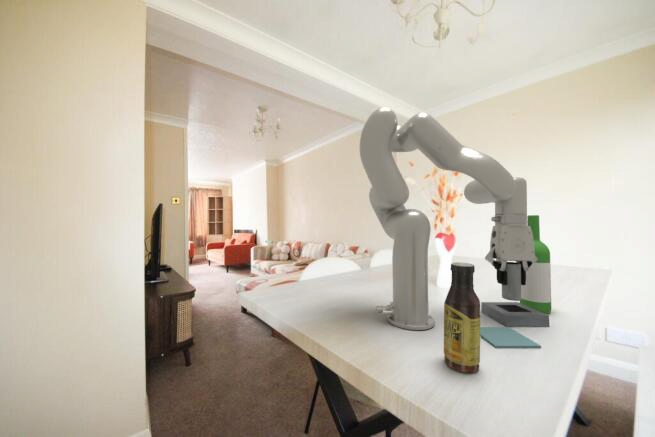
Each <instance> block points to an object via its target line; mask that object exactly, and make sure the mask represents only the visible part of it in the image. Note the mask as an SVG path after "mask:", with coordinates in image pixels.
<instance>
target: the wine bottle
mask: <svg viewBox="0 0 655 437" xmlns="http://www.w3.org/2000/svg"><path fill="white" fill-rule="evenodd" d="M527 226H530V227H531V230H532V234H533V239H534V248H535V256H536V257H537V258H538V260H537V261H536V262H534V263H532V265H531V266H530V267H529V268H528V271H526V285H521V300H520V301H519V303H521V304H523V305H526V306H528V307H530V308H533V309H535V310H537V311H540V312H542V313H545V314H547V315H548V314H550V313H551V312H552V274H551V270H552V269H551V252H550V249H549V247H548V245H546V244H545V243H544V242H542V241H541V236H540V234H541V232H540V215H538V214H535V215H534V214H532V215H528V214H527Z"/></svg>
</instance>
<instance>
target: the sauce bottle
mask: <svg viewBox="0 0 655 437" xmlns="http://www.w3.org/2000/svg"><path fill="white" fill-rule="evenodd" d="M450 271H451V283H450V284H451V285H450V287H449V290H448V292H447V294H446V298H445V299H444V303H443V304H444V305H443V307H444V308H443V354H444V361H445V363H446V365H447V366H448V367H450V368H451V369H453V370H455V371H457V372H459V373H467V374H469V373H475V372H478V370H479V369H480V363H481V362H480V361H481V337H480V327H481V315H480V314H481V310H480V309H481V302H480V298H479V297H478V295H477V294H476V292H475V290H474V287H475V286H474V273H475V265H474V264H473V263H468V262H460V261H459V262H458V261H457V262H452V263H450Z"/></svg>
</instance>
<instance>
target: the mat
mask: <svg viewBox="0 0 655 437" xmlns="http://www.w3.org/2000/svg"><path fill="white" fill-rule="evenodd" d="M480 338H481V339H483V340H484V341H486V342H487V343H489V345H490V346H493V348H495V349H542V345H540V343H537V342H535V341H533V340H532V339H530V338H529V337H527V336H525V335H523V334H522V333H520V332H518V331H516V330H515V329H513V328H512V327H506V326H480Z"/></svg>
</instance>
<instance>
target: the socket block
mask: <svg viewBox="0 0 655 437" xmlns="http://www.w3.org/2000/svg"><path fill="white" fill-rule="evenodd" d="M480 309H481V313H482V314H484V315H486V316H488V317H489V318H491V319H492V320H495V321H497V322H498V323H499V324H501V325H503V326H504V327H510V328H523V327H525V328H540V327H541V328H550V315H549V314H548V313H547V314H545V313H542V312H540V311H537V310H535V309H533V308H530V307H528V306H526V305H523V304H521V303H520V301H509V302H508V301H507V302H506V301H505V302H504V301H503V302H502V301H496V302H495V301H485V302H483V301H481V302H480Z"/></svg>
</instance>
